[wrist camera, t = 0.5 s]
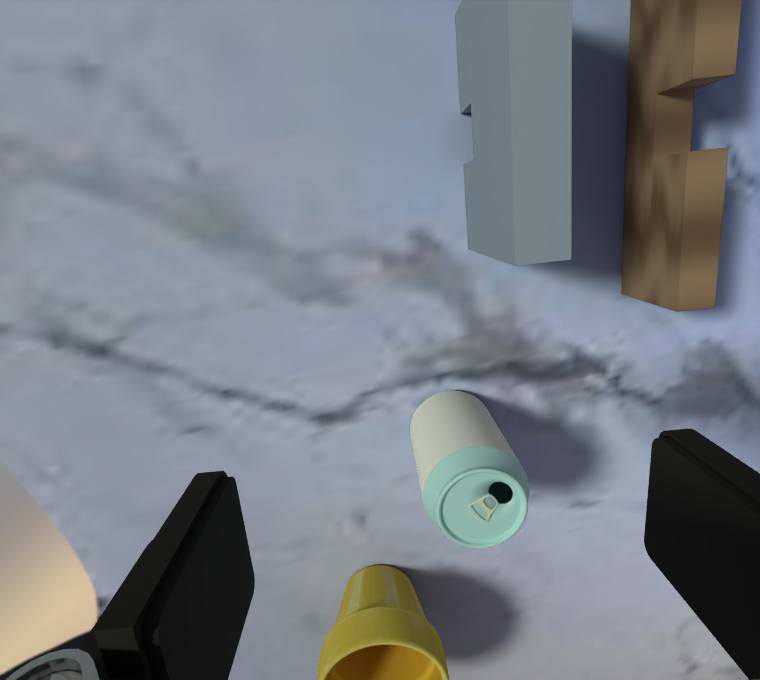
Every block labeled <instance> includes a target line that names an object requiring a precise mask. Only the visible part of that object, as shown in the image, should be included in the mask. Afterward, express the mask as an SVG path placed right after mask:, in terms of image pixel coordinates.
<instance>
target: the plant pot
mask: <svg viewBox="0 0 760 680" xmlns="http://www.w3.org/2000/svg"><path fill="white" fill-rule="evenodd" d="M317 680H449V675H448V669H447V664H446V659H445V654H444V650H443V646H442V642H441V639H440V637H439V635H438V633H437V631H436V630H435V628H434V627H433V626H432V625H431V623H429V622H428V621H427V619H426V617H425V614H424V612H423V609H422V607H421V605H420V602H419V600H418V597H417V595H416V592H415V590H414V587H413V585H412V583H411V581H410V579H409V578H408V577H407V576H406V575H405V574H404V573H403V572H402V571H400V570H398V569H396V568H394V567H391V566H387V565H374V566H369V567H366V568H364V569H362V570H360V571H358V572H357V573H355V574H354V575H353V576H352V577H351V579H350V580H349V582H348V584H347V586H346V589H345V593H344V596H343V599H342V603H341V606H340V610H339V613H338V616H337V619H336V622H335V626H334V627H333V628H332V629H331V630H330V632H329V633H328V635H327V637H326V638H325V640H324V643H323V645H322V649H321V654H320V660H319V667H318V677H317Z"/></svg>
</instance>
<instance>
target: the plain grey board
mask: <svg viewBox="0 0 760 680" xmlns="http://www.w3.org/2000/svg"><path fill="white" fill-rule="evenodd" d="M455 25H456V43H457V60H458V78H459V95H460V113H461V114H464V113H471V114H472V133H473V153H474V160H472V161H470V162H468V163H466V164H464V183H465V200H466V218H467V235H468V249H470V250H473V251H476V252H478V253H481V254H484V255H487V256H489V257H492V258H495V259H498V260H501V261H503V262H506V263H509V264H512V265H514V266H519V265H528V264H537V263H545V262H554V261H563V260H571V191H572V0H462V1H461V3H460V5H459V8H458V10H457V12H456V15H455Z"/></svg>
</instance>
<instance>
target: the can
mask: <svg viewBox="0 0 760 680" xmlns="http://www.w3.org/2000/svg"><path fill="white" fill-rule="evenodd" d="M410 434H411V440H412V445H413V450H414V455H415V461H416V466H417V471H418V476H419V482H420V487H421V492H422V497H423V503H424V507H425V510H426V513H427V515H428V516H429V518H430V520H431V521H432V522H433V524H434V525H435V526H436V527H437V528H438V529H440V530H441V531H442V532H443V533H444V534H445V535H446V536H447V537H448V538H449V539H450V540H452V541H453V542H455V543H456V544H459V545H461V546H464V547H468V548H475V549H483V548H490V547H494V546H497V545H499V544H502V543H504V542H505V541H507V540H509V539H510V538H511V537H513V536H514V535H515V534H516V533H517V532H518V531H519V529H520V528H521V527H522V525H523V523H524V521H525V519H526V516H527V512H528V499H529V482H528V478H527V475H526V473H525V471H524V469H523V467H522V465H521V464H520V462H519V461H518V459H517V457H516V456H515V454H514V452H513V451H512V449H511V447H510V446H509V444H508V442H507V441H506V439H505V437H504V436H503V434H502V433H501V431H500V429H499V428H498V426H497V424H496V423H495V421H494V419H493V418H492V416H491V414H490V413H489V411H488V409H487V408H486V406H485V405H484V404H483V403H482V402H481V401H480V400H479V399H478V398H476V397H475V396H473V395H471V394H468V393H465V392H461V391H445V392H441V393H438V394H435V395H433V396H431V397H430V398H428V399H427V400H425V401H424V402H423V403H422V404H421V405H420V406H419V407H418V409H417V410H416V412H415V413H414V415H413V418H412V421H411V426H410Z"/></svg>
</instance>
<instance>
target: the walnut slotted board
mask: <svg viewBox="0 0 760 680" xmlns="http://www.w3.org/2000/svg"><path fill="white" fill-rule="evenodd" d="M741 2H742V0H631V14H630V45H629V76H628V107H627V138H626V169H625V200H624V231H623V262H622V293H621V294H623V295H626V296H629V297H633V298H636V299H639V300H642V301H645V302H648V303H651V304H654V305H658V306H661V307H664V308H667V309H670V310H673V311H676V312H680V311H689V310H698V309H706V308H715V297H716V286H717V275H718V263H719V252H720V241H721V229H722V218H723V207H724V195H725V184H726V173H727V161H728V150H729V147H727V148H718V149H709V150H701V151H692V152H690V145H691V131H692V116H693V101H694V90H695V89H697V88H700V87H703V86H705V85H708V84H711V83H713V82H716V81H718V80H721V79H724V78H726V77H729V76H732V75H734V74H735V70H736V59H737V48H738V36H739V25H740V14H741Z"/></svg>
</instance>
